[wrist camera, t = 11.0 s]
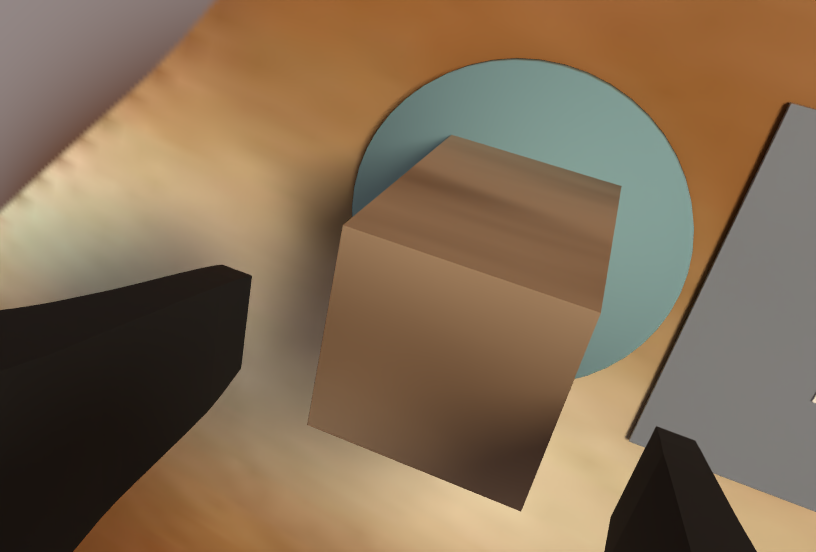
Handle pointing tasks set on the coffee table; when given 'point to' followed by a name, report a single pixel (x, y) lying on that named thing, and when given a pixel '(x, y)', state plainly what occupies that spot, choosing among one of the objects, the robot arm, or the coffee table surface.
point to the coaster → (570, 149)
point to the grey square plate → (754, 334)
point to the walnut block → (465, 314)
